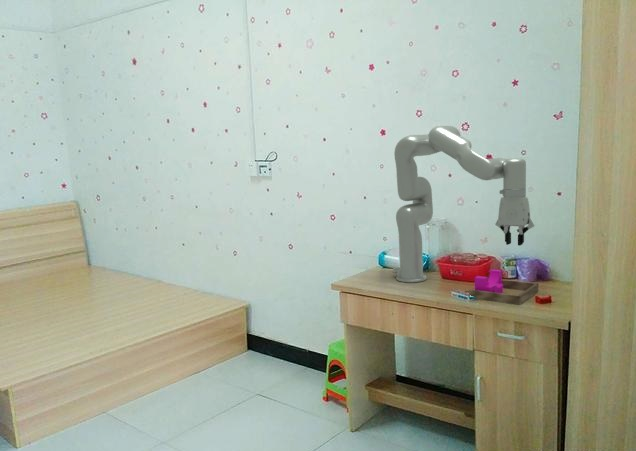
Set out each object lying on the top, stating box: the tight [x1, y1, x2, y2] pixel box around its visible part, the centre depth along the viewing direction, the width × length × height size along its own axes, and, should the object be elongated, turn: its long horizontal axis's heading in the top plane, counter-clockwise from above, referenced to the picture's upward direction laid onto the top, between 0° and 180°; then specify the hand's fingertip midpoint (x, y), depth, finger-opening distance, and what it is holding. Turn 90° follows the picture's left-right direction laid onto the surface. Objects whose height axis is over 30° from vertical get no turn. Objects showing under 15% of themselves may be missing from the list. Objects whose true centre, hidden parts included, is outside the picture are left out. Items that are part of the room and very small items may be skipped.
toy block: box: [474, 268, 504, 294], centre depth 208 cm, size 15×6×8 cm, turn 138°
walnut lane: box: [468, 278, 539, 306], centre depth 205 cm, size 18×20×3 cm
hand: (514, 244), depth 200 cm, fingers open, 3 cm apart
